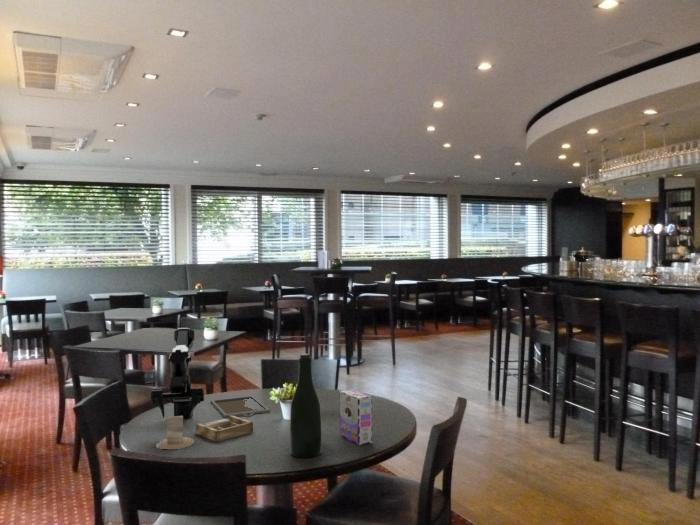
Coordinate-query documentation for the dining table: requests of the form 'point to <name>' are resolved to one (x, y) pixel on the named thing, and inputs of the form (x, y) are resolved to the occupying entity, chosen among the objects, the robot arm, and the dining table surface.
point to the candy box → (356, 416)
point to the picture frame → (237, 407)
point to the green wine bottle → (305, 414)
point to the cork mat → (186, 443)
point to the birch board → (174, 430)
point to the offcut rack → (224, 428)
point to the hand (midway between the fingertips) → (176, 416)
